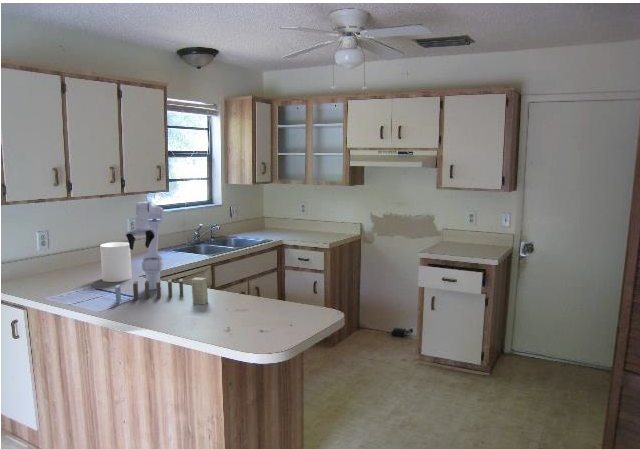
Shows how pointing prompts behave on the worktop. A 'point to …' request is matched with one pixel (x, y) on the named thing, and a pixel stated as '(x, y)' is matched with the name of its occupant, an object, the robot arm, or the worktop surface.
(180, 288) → the domino
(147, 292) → the domino
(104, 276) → the canister
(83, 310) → the worktop surface
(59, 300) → the worktop surface
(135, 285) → the domino
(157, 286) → the domino
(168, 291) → the domino
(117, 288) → the domino
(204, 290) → the skincare box
